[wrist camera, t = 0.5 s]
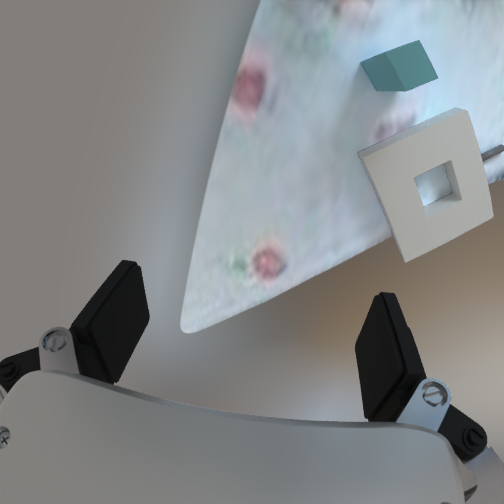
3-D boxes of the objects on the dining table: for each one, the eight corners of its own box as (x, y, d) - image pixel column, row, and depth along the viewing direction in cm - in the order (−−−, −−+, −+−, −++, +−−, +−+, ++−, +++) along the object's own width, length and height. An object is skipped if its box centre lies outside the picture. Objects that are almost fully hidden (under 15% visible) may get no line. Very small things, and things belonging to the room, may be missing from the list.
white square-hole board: (486, 94, 26) (498, 96, 23) (511, 193, 32) (521, 200, 29) (357, 152, 34) (362, 158, 31) (399, 252, 40) (405, 262, 37)
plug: (386, 51, 26) (419, 40, 18) (402, 79, 28) (438, 78, 19) (360, 62, 28) (385, 52, 19) (376, 90, 29) (406, 91, 21)
